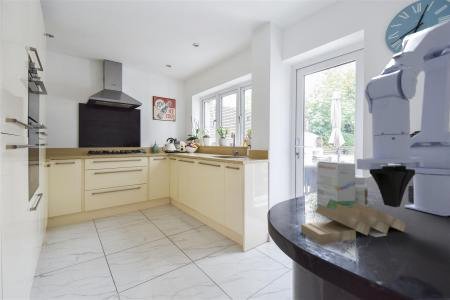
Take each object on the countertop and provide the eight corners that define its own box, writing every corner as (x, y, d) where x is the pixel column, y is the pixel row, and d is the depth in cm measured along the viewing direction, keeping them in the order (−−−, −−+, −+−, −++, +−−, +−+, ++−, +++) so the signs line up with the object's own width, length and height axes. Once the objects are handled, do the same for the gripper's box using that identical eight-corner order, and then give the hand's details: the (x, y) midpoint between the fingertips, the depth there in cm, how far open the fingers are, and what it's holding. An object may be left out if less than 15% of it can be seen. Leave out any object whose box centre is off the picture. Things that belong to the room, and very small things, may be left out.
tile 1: (379, 215, 42) (353, 202, 41) (406, 223, 38) (378, 209, 36) (376, 222, 42) (351, 210, 41) (403, 231, 37) (375, 218, 36)
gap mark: (356, 223, 42) (356, 223, 42) (386, 235, 36) (386, 234, 36) (346, 225, 41) (346, 224, 41) (375, 237, 35) (375, 236, 35)
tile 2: (364, 216, 41) (337, 203, 40) (389, 225, 37) (360, 211, 35) (361, 224, 41) (334, 211, 40) (386, 234, 36) (357, 220, 35)
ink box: (316, 204, 57) (315, 161, 57) (333, 202, 58) (332, 160, 58) (338, 213, 49) (337, 162, 49) (357, 211, 50) (356, 162, 50)
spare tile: (346, 217, 40) (318, 204, 39) (370, 226, 35) (340, 211, 34) (343, 225, 40) (315, 212, 39) (367, 235, 35) (336, 220, 34)
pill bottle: (371, 208, 52) (370, 177, 52) (351, 207, 53) (351, 177, 53) (363, 203, 56) (362, 175, 56) (345, 203, 57) (345, 175, 57)
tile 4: (333, 220, 40) (301, 223, 38) (355, 229, 35) (320, 234, 33) (333, 228, 40) (301, 232, 38) (355, 239, 35) (320, 244, 33)
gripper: (396, 137, 46) (397, 198, 46) (343, 136, 42) (344, 203, 42) (436, 134, 39) (437, 206, 39) (376, 133, 35) (378, 213, 35)
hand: (391, 205), depth 40 cm, fingers closed
